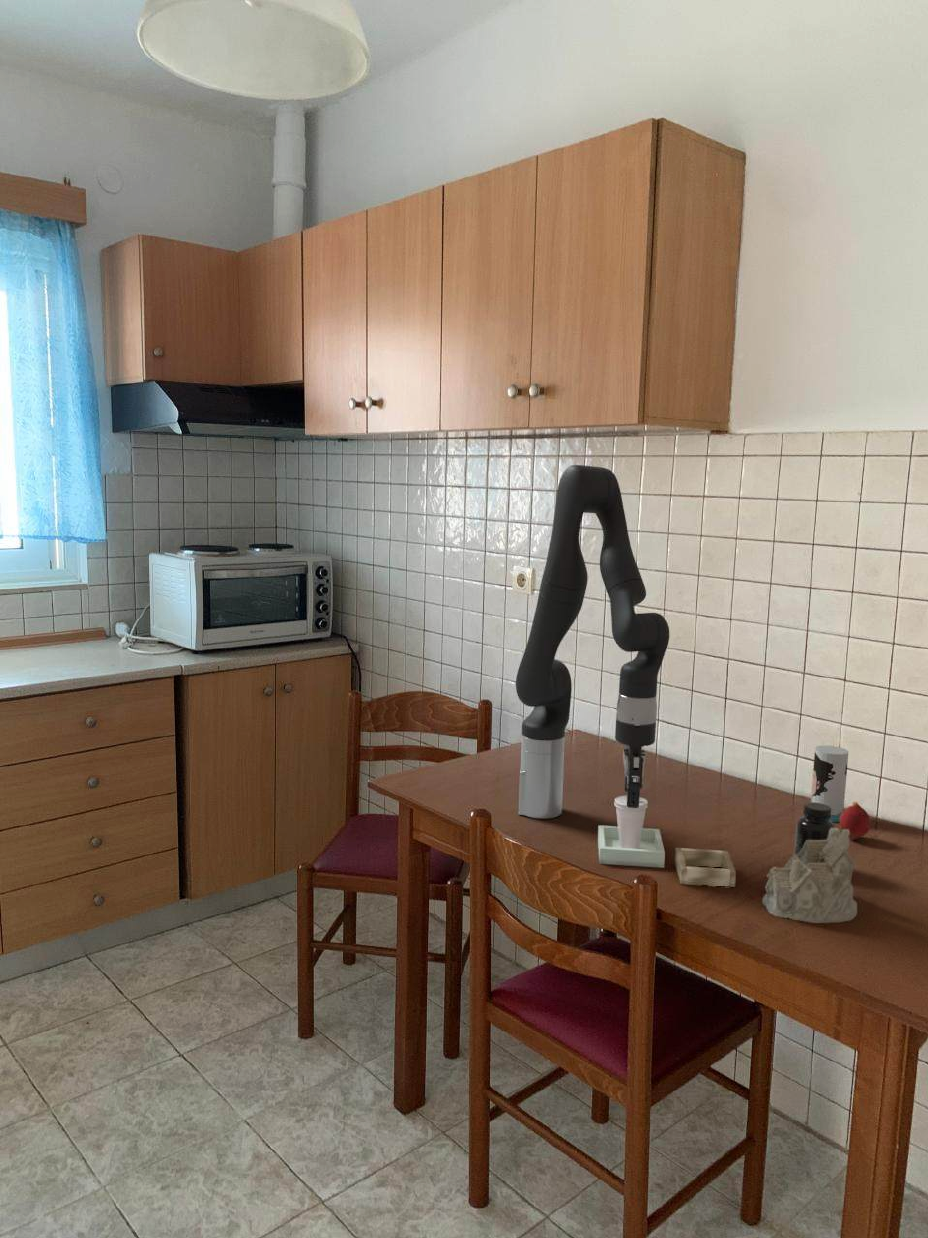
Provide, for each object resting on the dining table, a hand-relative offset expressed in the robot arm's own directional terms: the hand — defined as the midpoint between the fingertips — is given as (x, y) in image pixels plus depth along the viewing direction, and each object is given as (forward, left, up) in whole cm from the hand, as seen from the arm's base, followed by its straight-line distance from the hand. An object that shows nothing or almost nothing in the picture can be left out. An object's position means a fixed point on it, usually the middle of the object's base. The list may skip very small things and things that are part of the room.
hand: (631, 799), depth 178 cm
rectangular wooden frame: (+13, -8, -11) cm, 19 cm away
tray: (0, 0, -11) cm, 11 cm away
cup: (+44, +28, -11) cm, 53 cm away
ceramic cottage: (+30, -16, -11) cm, 36 cm away
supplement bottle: (+34, -1, -11) cm, 36 cm away
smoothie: (0, 0, -10) cm, 10 cm away
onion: (+46, +15, -11) cm, 50 cm away
